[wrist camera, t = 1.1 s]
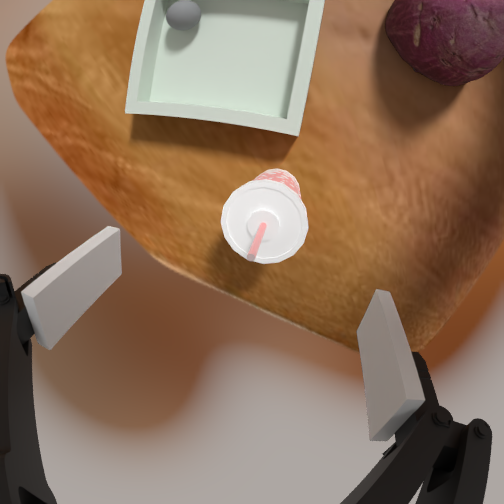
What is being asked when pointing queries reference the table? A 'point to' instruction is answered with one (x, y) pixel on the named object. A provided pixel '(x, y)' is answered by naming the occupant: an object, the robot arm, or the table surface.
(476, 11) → the vegetable
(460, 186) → the table surface
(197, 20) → the ball
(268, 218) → the beverage cup
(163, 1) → the tray
